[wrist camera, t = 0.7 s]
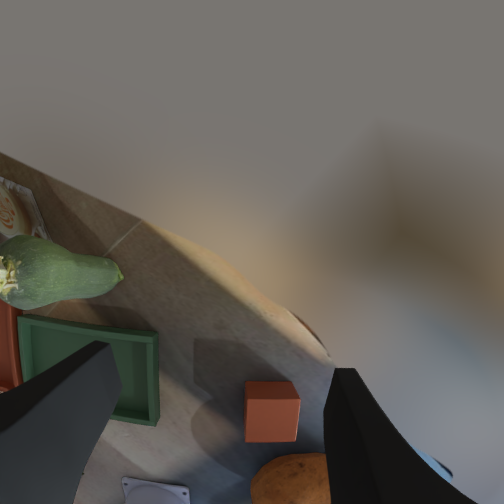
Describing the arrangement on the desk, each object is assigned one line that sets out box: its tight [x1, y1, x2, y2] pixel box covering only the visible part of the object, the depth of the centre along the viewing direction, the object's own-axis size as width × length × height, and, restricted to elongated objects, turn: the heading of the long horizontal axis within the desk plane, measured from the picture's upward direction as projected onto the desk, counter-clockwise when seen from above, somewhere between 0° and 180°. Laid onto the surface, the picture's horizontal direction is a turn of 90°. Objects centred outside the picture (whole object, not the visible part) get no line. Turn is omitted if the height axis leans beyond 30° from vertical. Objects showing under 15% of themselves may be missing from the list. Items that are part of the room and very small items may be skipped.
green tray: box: [17, 314, 160, 427], centre depth 26 cm, size 9×16×2 cm, turn 87°
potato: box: [251, 452, 331, 504], centre depth 24 cm, size 9×11×8 cm
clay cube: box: [243, 381, 301, 442], centre depth 26 cm, size 4×4×4 cm
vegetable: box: [0, 235, 124, 310], centre depth 18 cm, size 4×4×20 cm
